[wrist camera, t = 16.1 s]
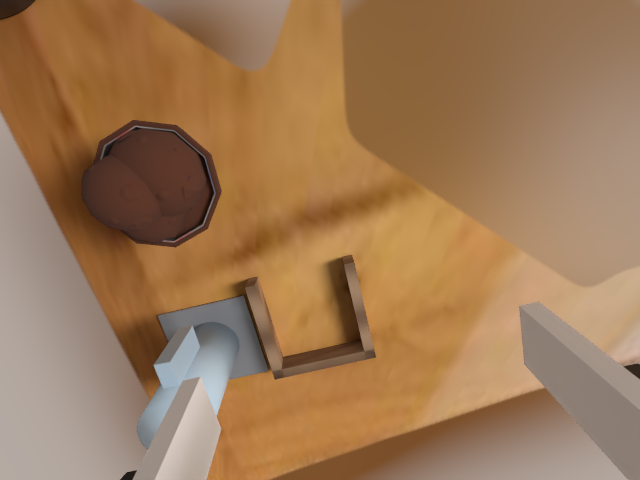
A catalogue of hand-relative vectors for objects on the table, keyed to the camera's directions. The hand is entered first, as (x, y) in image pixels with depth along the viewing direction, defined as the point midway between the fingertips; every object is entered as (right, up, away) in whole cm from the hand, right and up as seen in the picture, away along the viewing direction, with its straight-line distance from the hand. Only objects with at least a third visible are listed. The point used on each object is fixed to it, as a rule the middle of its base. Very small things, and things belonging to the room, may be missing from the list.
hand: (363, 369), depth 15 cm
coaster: (-15, -8, +32) cm, 36 cm away
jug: (-15, -7, +31) cm, 36 cm away
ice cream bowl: (-16, +13, +26) cm, 33 cm away
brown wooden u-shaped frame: (-3, -4, +31) cm, 32 cm away
